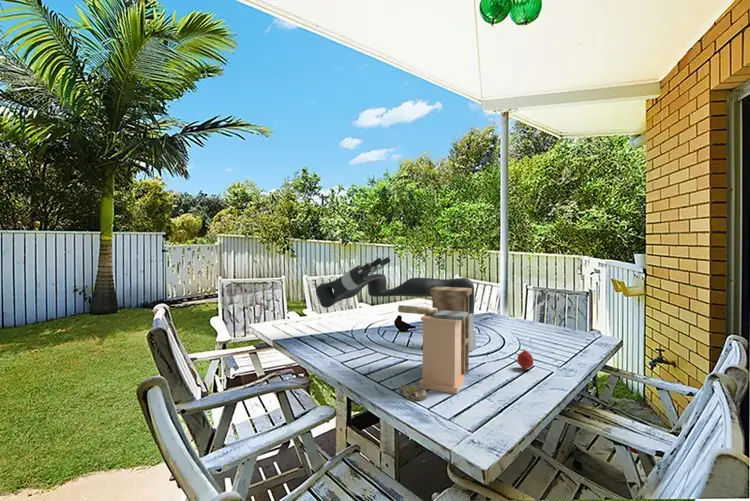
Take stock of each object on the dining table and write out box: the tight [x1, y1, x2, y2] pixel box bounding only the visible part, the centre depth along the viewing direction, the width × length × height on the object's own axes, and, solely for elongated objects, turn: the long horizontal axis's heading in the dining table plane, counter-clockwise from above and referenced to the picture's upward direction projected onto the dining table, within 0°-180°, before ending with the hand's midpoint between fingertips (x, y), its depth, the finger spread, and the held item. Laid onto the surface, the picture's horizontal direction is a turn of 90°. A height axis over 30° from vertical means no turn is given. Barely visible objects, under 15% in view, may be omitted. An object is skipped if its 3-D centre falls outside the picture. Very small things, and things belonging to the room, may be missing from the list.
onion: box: [516, 348, 534, 371], centre depth 140 cm, size 6×6×8 cm
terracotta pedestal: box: [418, 314, 465, 395], centre depth 125 cm, size 13×13×24 cm
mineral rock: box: [399, 384, 428, 402], centre depth 117 cm, size 11×4×8 cm
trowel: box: [397, 304, 468, 320], centre depth 127 cm, size 24×9×3 cm, turn 66°
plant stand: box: [430, 286, 472, 378], centre depth 138 cm, size 14×10×32 cm
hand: (385, 259), depth 145 cm, fingers open, 8 cm apart
